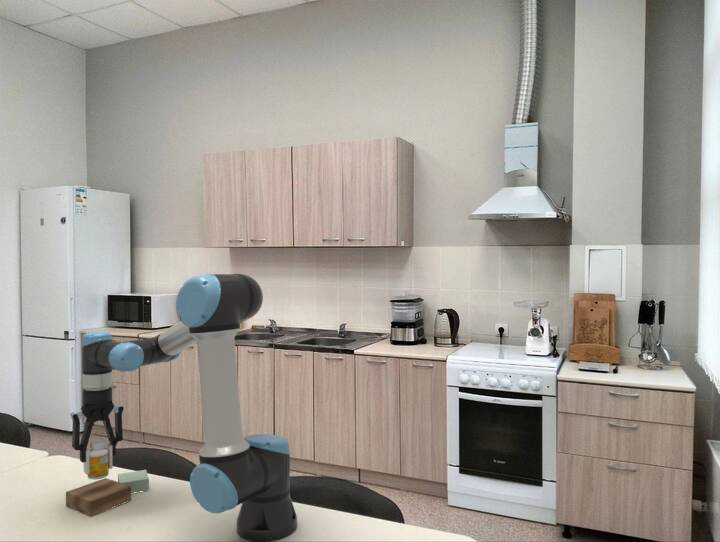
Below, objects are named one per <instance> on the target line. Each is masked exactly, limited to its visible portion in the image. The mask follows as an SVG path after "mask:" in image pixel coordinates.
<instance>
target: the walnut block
mask: <svg viewBox="0 0 720 542" xmlns="http://www.w3.org/2000/svg"><path fill="white" fill-rule="evenodd" d="M130 500H131V501H132V494H131V487H130V486H128V485H125V484H122V483H119V482H118V481H115V480H112V479H110V478H107V477H105V478H102V479H98V480H95V481H93V482H89V483H88V484H84V485H81V486H78V487H76V488H73V489H70V490H68V491H66V492H65V507H66V506H67V507H66V508H69V509H71V508H72V509H71V510H73V509H74V511H76V510H77V511H76V512H78V511H79V512H78V513H81V514H83V515H85V514H86V515H85V516H88V517H91V518H92V517H94V515H95V516H96V515H100V514H101V512H102V513H104V512H106V511H105V510H107V509H109V510H111V509H110V508H112V507H114V506H117V505H119V504H122V503H124V502H127V501H129V502H131V501H130ZM127 503H128V502H127ZM124 504H125V503H124ZM122 505H123V504H122ZM119 506H120V505H119ZM117 507H118V506H117ZM114 508H115V507H114ZM112 509H113V508H112ZM103 511H104V512H103ZM107 511H108V510H107ZM99 513H100V514H99Z"/></svg>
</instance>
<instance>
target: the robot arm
mask: <svg viewBox="0 0 720 542" xmlns="http://www.w3.org/2000/svg"><path fill="white" fill-rule="evenodd" d="M263 298H264V296H263V291H262V288H261V286H260V284H259V282H257V281H256V279H255V278H253V277H251V276H249V275H246V274H244V273H243V274H242V273H229V274H228V273H227V274H226V273H225V274H224V273H220V274H218V273H215V274H211V273H209V274H207V273H206V274H202V275H201V274H200V275H194V276H192V277H190V278H188V279H187V280H186V281H184V282H183V284H182V286H181V287H180V288H179V290H178V293H177V296H176V302H175V310H176V314H177V317H178V319H180V321H178V322H177V323H175V324H174V325H171V326H170V327H169V328H167V329H165V330H164V331H162V332H160V333H159V334H157V335H155V336H153V337H147V338H140V339H132V340H125V341H113V338H112V333H111V332H110V331H91V332H86V333H84V334H83V335H82V342H81V343H82V344H81V366H82V367H81V368H82V388H83V390H82V406H81V408H80V410H78V411H76V412H71V413H70V418H71V420H72V434H71V435H72V439H71V440H72V441H71V448H73V450H75V451H79V460H80V462H81V463H83V473H84V474H85V475H88V474H90V462H89V450H90V449H89V448H88V445H89V441H90V437H91V435H92V434H91V433H92V430H93V427H94V425H95V423H97V422H99V421H100V422H102V424H103V426H104V430H105V433H106V435H107V439H108V442H109V443H106V446H105V448H107V449H108V452H109V470H112V469H113V468H114V467H113V459H114V458H113V456H116V454H117V445H118V443H119V442H121V441H123V440H124V437H123V436H124V435H123V433H124V432H123V412H124V406H123V405H120V404H117V405H116V404H114V402H113V388H112V385H113V370H115V371H118V372H123V373H125V372H128V373H130V372H134V371H136V370H138V369H139V368H141V367H145V366H149V365H155V364H160V363H168V362H171V361H174V360H176V359H178V358H179V357H180V354H181V353H182V352H183V351H185V350H187V349H189V348H191V347H192V346H195V345H197V346H196V347H197V348H196V349H197V356H198V357H197V360H198V361H197V362H198V373H199V385H200V397H201V408H202V410H201V411H202V422H203V424H202V425H203V432H204V434H203V435H204V436H203V437H204V445H203V446H202V447H201V449H200V450H199V451H198V455H199V456H198V457H199V459H198V460H199V464H198V465H196V466H195V467H194V468H193V469H192V471H191V473H190V476H189V477H190V478H189V485H190V490H191V493H192V496H193V498H194V499H195V501H196V502H197V503H198V504H199V505H200V507H201V508H202V509H203V510H205V511H207V512H209V513H211V514H222V513H224V512H227V511H230V510H233V509H235V508H236V507H237V506H238V505H240V504H241V505H240V508H239V511H238V515H237V519H236V533H237V534H238V536H240V537H241V538H243V539H246V540H248V541H254V542H271V541H276V540H279V539H283V538H285V537H288V536H290V535H291V534H292V533H293V532H294V531H295V530H296V529H297V527H298V516H297V513H296V509H295V506H294V504H293V500H292V498H291V494H290V493H291V491H290V488H291V487H290V485H291V483H290V482H291V481H290V480H291V479H290V477H291V476H290V475H291V474H290V473H291V470H290V469H291V468H290V466H291V465H290V463H291V459H290V457H291V456H290V455H291V452H290V443H289V441H288V439H287V438H286V437H285V436H284V437H283V436H281V435H276V434H271V433H270V434H268V433H257V434H250V435H246V436H245V437H243V427H242V426H243V425H242V413H241V403H240V402H241V401H240V388H239V379H238V367H237V355H236V344H235V343H236V342H235V337H236V335H237V334H238V333H239V331H240V330H241V324H242V323H243V322H246V321H248V320H250V319H251V318H253V317H254V316H255V315H257V314H258V312H259V311H260V310H261V307H262V305H263V300H264V299H263ZM112 411H113V413H114V429H113V428H112V424H111V418H110V414H111V413H112ZM82 416H84V417H85V423H84V429H83V431H82V435H80V434H81V432H80V431H81V421H80V420H82ZM113 430H114V431H113ZM114 432H115V433H114ZM80 438H81V440H80Z"/></svg>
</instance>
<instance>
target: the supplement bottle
mask: <svg viewBox="0 0 720 542" xmlns="http://www.w3.org/2000/svg"><path fill="white" fill-rule="evenodd" d="M106 444H107V442H106V440H105V439H96V440H92V441H90V442H89V449H88V450H89V462H90V474H87V479H89V480H95V481H97V480H101V479H104V478H107V477H108V476H109V474H110V473H109V472H110V469H109V452H108V449H107V448H106Z"/></svg>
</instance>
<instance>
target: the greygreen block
mask: <svg viewBox="0 0 720 542" xmlns="http://www.w3.org/2000/svg"><path fill="white" fill-rule="evenodd" d="M117 482H119V483H122V484H125V485H128V486H130V487H131V493H134V492H140V491H147V490H149V491H150V478H149V475H148V471H147V469H142V470H136V471H135V470H134V471H129V472H123V473H118V474H117ZM147 492H148V491H147Z"/></svg>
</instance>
